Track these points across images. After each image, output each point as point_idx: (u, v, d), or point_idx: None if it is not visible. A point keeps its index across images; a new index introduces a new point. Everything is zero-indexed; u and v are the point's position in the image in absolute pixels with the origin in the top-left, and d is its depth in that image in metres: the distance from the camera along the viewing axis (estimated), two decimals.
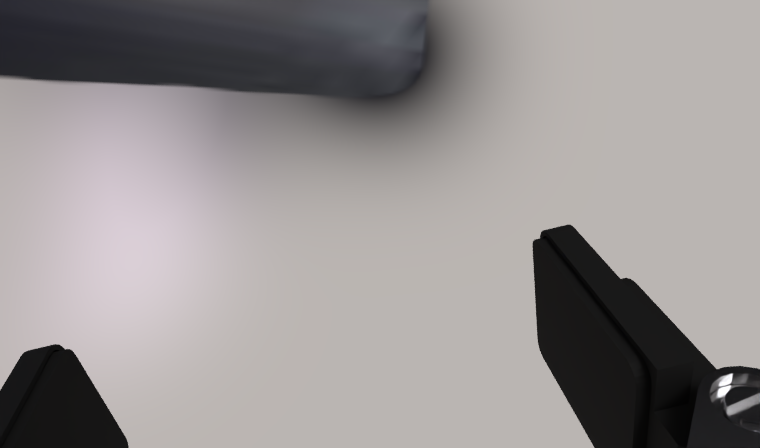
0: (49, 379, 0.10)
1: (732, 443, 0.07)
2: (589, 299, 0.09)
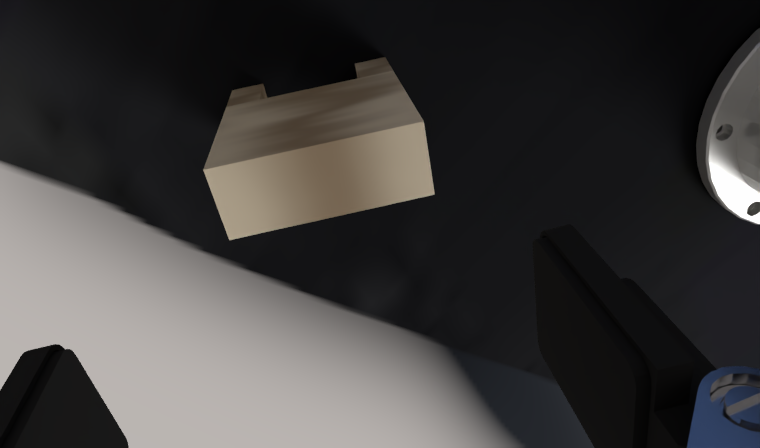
0: (49, 379, 0.10)
1: (732, 443, 0.07)
2: (589, 299, 0.09)
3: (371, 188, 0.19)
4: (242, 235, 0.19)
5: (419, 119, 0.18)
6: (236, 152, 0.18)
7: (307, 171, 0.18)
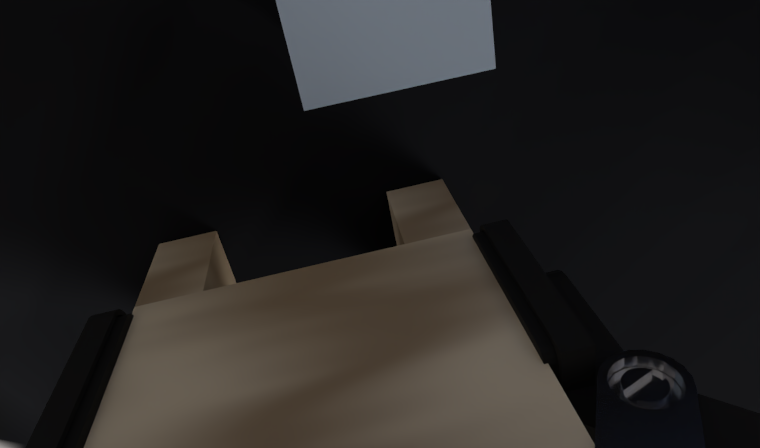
0: (117, 340, 0.10)
1: (633, 424, 0.07)
2: (512, 289, 0.09)
3: None
4: None
5: None
6: None
7: None
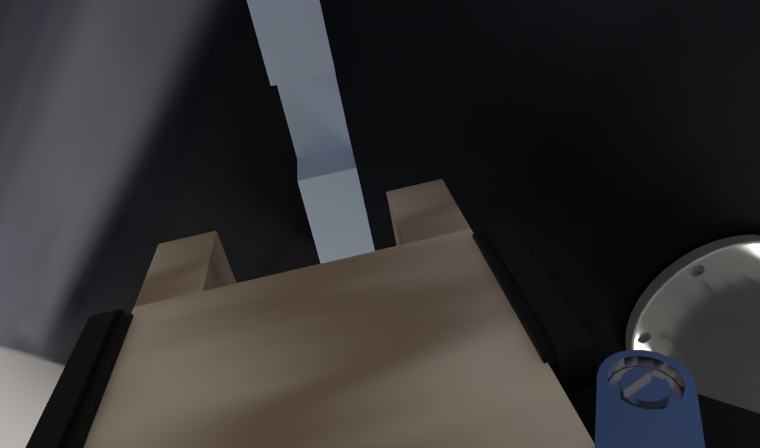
0: (117, 340, 0.10)
1: (633, 424, 0.07)
2: (512, 289, 0.09)
3: None
4: None
5: None
6: None
7: None
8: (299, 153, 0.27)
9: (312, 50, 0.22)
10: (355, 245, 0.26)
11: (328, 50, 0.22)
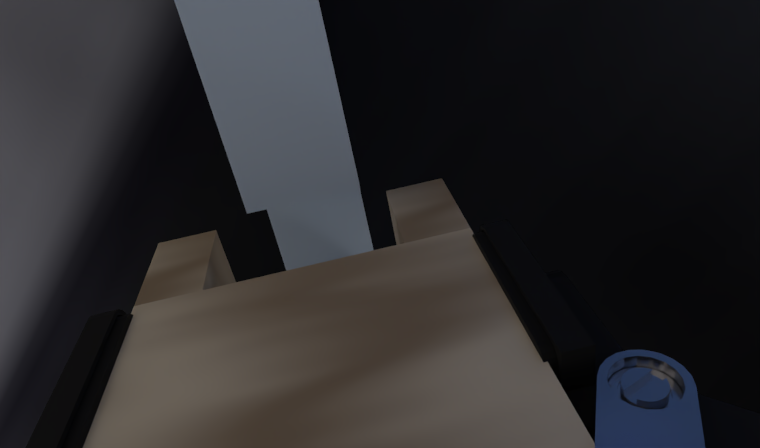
0: (117, 340, 0.10)
1: (633, 424, 0.07)
2: (512, 289, 0.09)
3: None
4: None
5: None
6: None
7: None
8: None
9: (320, 155, 0.12)
10: None
11: (349, 153, 0.12)
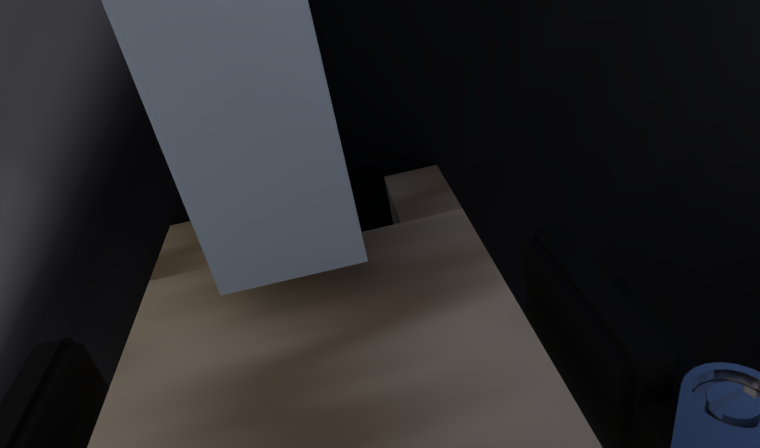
0: (61, 372, 0.10)
1: (715, 438, 0.07)
2: (576, 297, 0.09)
3: None
4: None
5: (588, 437, 0.07)
6: None
7: None
8: None
9: (316, 222, 0.09)
10: None
11: (353, 220, 0.09)
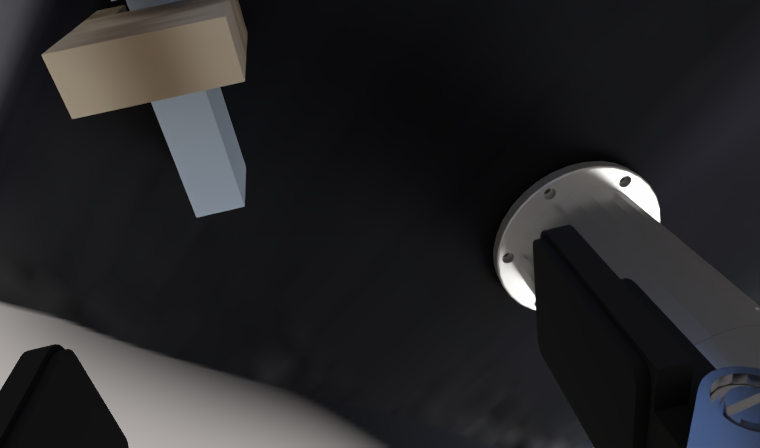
0: (49, 379, 0.10)
1: (732, 443, 0.07)
2: (589, 299, 0.09)
3: (189, 74, 0.23)
4: (83, 115, 0.23)
5: (223, 15, 0.22)
6: (73, 43, 0.22)
7: (132, 58, 0.22)
8: None
9: None
10: (211, 158, 0.29)
11: None
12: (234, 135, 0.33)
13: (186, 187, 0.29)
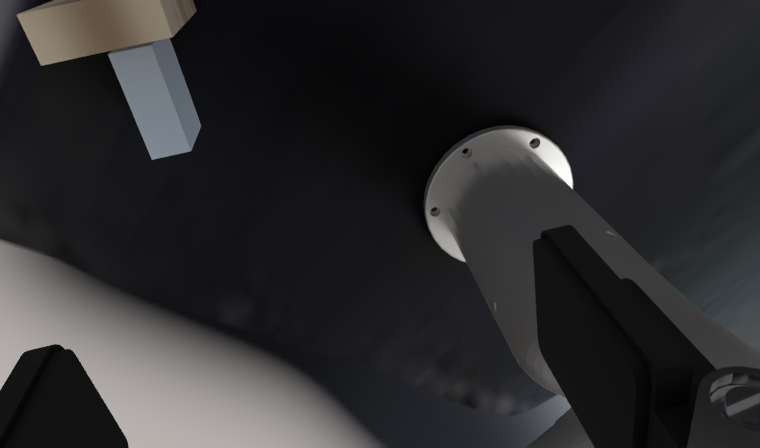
0: (49, 379, 0.10)
1: (732, 443, 0.07)
2: (589, 299, 0.09)
3: (129, 31, 0.30)
4: (49, 62, 0.30)
5: None
6: (42, 7, 0.29)
7: (84, 18, 0.29)
8: None
9: None
10: (161, 108, 0.36)
11: None
12: (189, 97, 0.40)
13: (142, 133, 0.36)
